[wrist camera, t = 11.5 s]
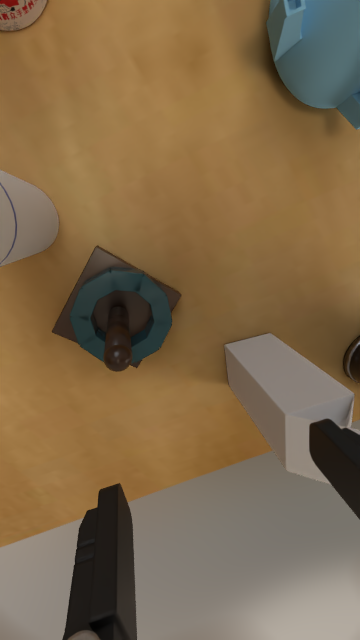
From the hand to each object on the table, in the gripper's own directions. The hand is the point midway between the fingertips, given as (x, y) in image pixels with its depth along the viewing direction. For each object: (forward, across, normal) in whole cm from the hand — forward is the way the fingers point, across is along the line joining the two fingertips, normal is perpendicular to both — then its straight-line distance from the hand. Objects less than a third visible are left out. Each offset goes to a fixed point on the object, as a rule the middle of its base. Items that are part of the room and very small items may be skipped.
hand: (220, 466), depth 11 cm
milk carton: (+24, -12, +12) cm, 30 cm away
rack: (+24, +4, 0) cm, 25 cm away
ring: (+23, +4, 0) cm, 23 cm away
